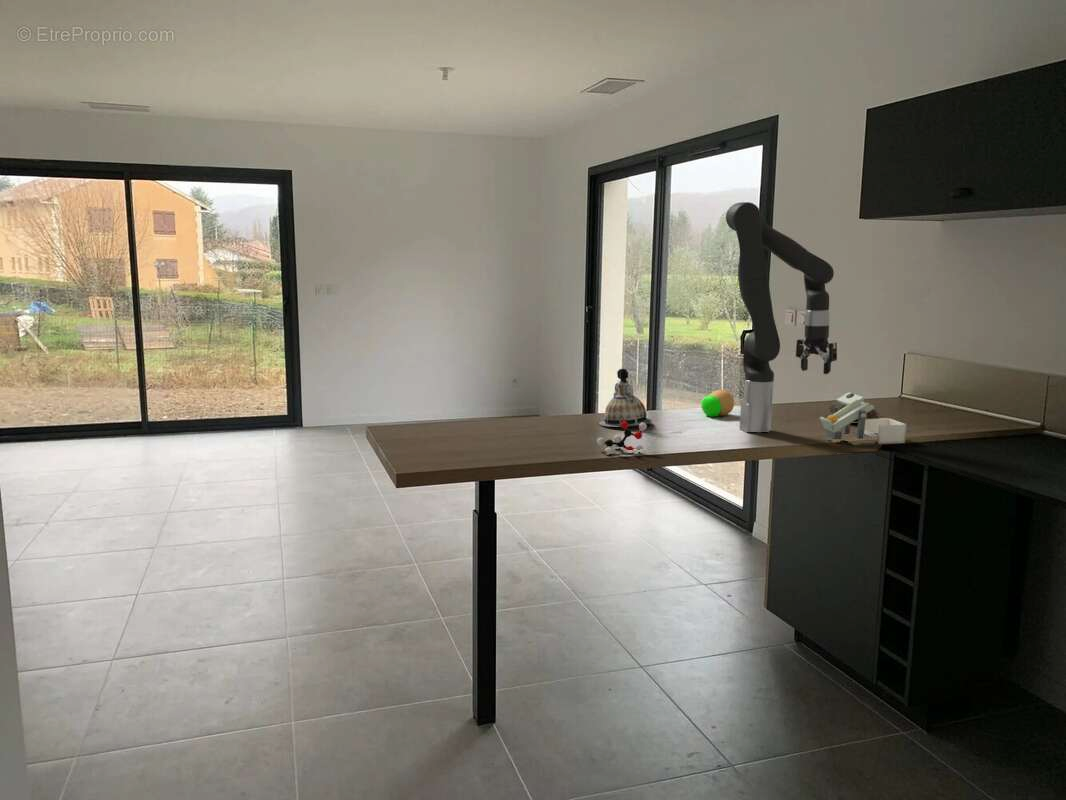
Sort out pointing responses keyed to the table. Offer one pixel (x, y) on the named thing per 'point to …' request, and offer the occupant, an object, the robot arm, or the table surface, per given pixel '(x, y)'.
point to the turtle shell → (870, 415)
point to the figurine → (624, 405)
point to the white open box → (886, 430)
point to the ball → (833, 418)
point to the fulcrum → (847, 429)
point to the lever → (847, 411)
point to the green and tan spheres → (718, 403)
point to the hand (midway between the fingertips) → (815, 372)
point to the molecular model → (620, 443)
